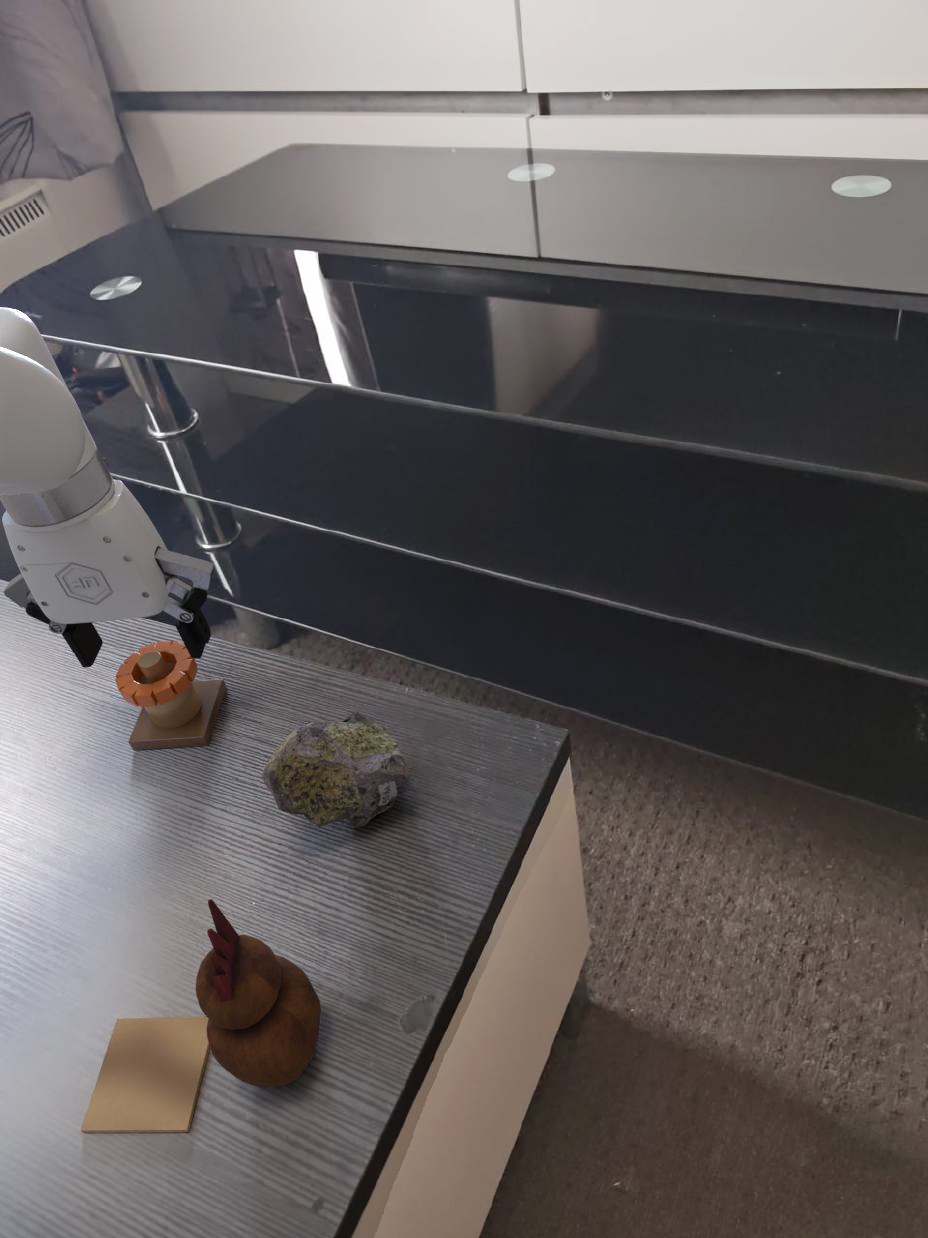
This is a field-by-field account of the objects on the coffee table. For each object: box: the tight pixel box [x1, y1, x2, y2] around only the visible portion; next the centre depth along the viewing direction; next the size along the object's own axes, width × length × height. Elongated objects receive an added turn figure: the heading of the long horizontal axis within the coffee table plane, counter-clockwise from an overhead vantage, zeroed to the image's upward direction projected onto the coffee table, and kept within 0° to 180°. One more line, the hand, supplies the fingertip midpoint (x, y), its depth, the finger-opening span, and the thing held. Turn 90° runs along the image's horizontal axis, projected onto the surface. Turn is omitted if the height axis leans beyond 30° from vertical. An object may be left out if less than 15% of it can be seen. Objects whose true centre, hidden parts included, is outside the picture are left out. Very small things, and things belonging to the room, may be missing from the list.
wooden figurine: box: [195, 898, 322, 1089], centre depth 54 cm, size 7×6×15 cm
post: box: [127, 651, 228, 751], centre depth 80 cm, size 7×7×8 cm
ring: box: [114, 640, 199, 708], centre depth 79 cm, size 7×7×1 cm
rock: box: [260, 711, 410, 829], centre depth 69 cm, size 11×10×10 cm
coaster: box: [80, 1016, 211, 1134], centre depth 59 cm, size 7×7×1 cm
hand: (147, 651), depth 78 cm, fingers open, 9 cm apart
